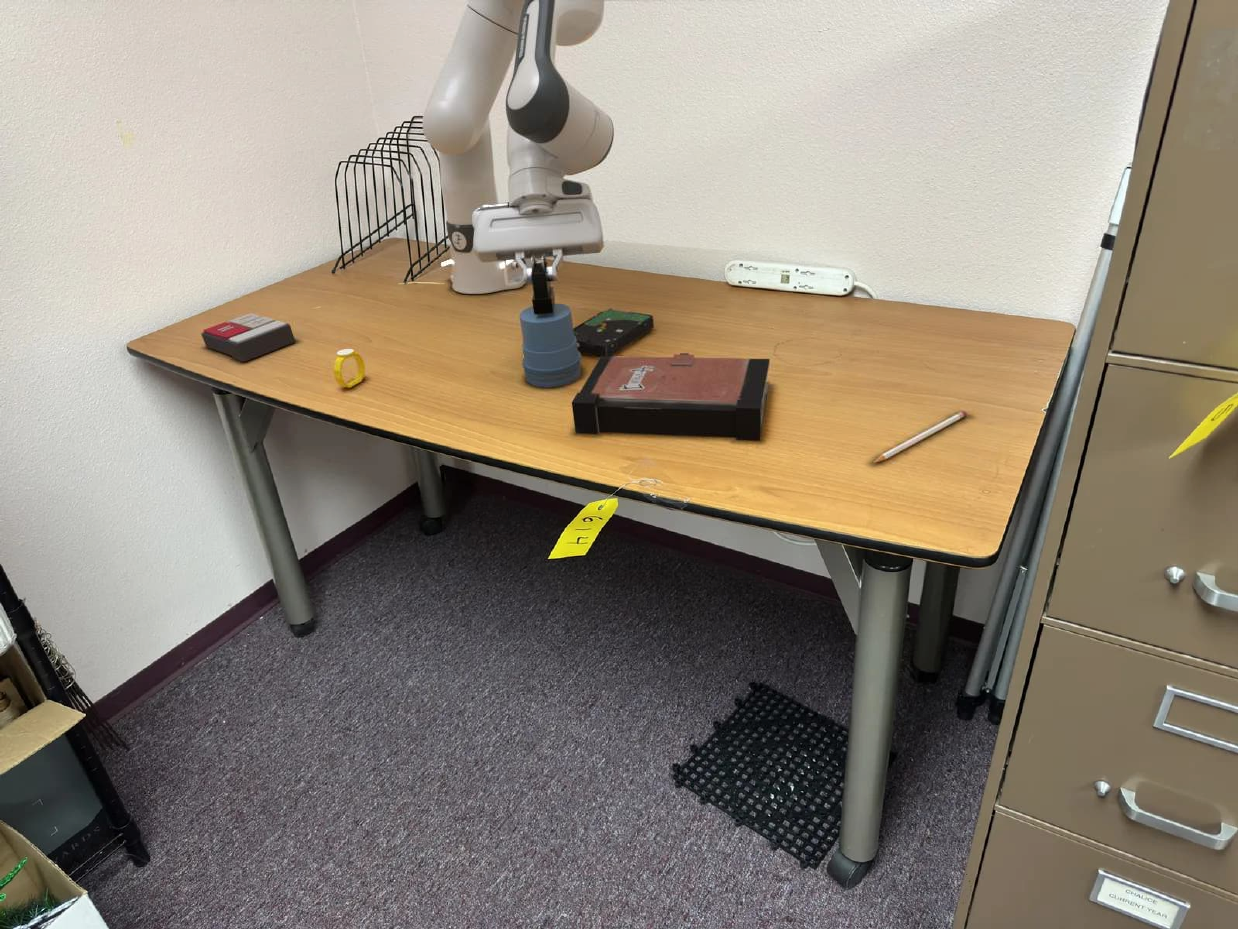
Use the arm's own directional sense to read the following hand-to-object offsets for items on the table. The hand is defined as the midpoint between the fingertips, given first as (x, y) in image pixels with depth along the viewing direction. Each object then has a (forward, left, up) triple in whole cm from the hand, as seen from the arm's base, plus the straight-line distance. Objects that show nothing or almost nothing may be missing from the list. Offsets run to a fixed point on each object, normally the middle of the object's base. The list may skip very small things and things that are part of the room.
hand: (540, 280), depth 126 cm
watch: (+15, -31, -17) cm, 38 cm away
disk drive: (-17, +1, -17) cm, 23 cm away
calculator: (+9, -65, -17) cm, 68 cm away
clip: (0, 0, -5) cm, 5 cm away
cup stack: (-1, 0, -16) cm, 16 cm away
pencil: (-1, +58, -17) cm, 60 cm away
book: (+3, +24, -17) cm, 29 cm away
